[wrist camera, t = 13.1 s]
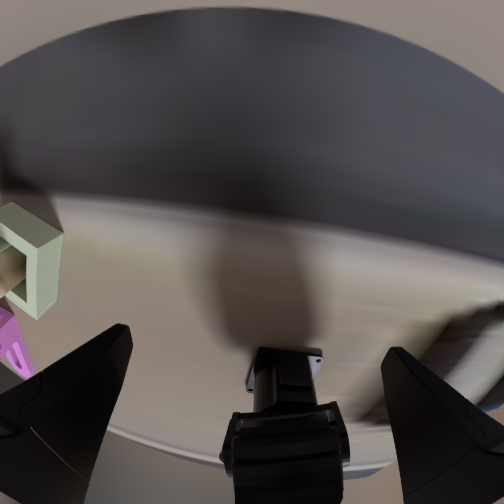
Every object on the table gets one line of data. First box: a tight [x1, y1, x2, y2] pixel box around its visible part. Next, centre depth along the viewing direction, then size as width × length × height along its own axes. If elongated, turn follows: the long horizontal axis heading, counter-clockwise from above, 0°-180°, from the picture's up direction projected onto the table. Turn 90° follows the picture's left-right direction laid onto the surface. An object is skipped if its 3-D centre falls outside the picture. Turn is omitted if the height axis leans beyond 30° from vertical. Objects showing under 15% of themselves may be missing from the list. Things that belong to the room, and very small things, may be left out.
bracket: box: [0, 307, 34, 378], centre depth 25 cm, size 13×6×7 cm, turn 168°
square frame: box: [0, 202, 64, 320], centre depth 20 cm, size 8×8×4 cm
